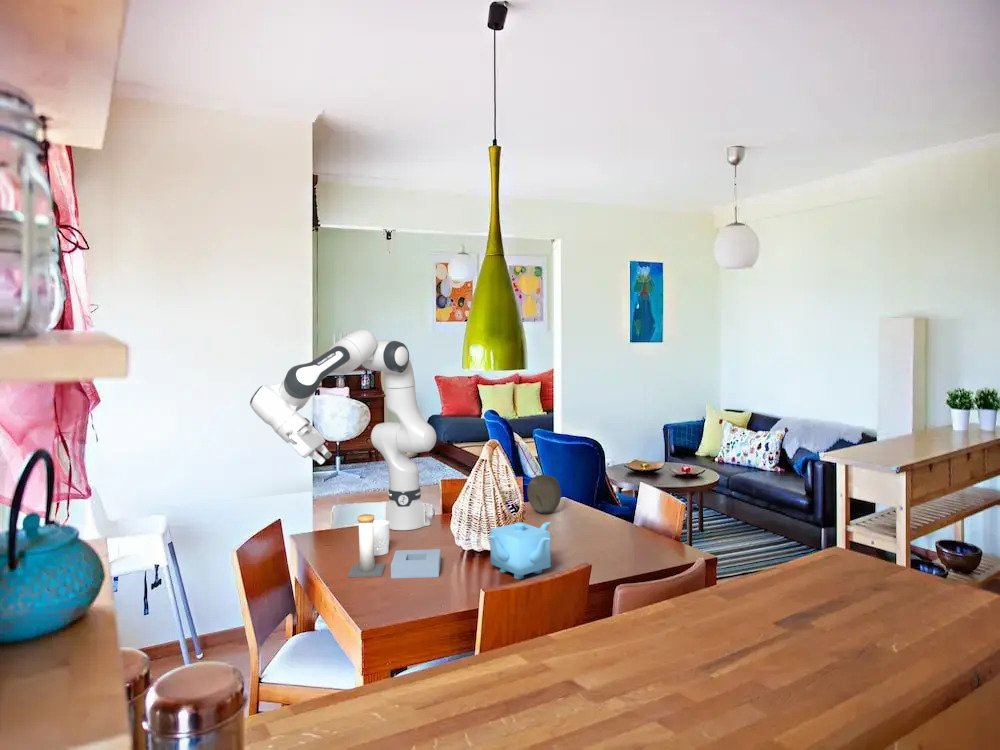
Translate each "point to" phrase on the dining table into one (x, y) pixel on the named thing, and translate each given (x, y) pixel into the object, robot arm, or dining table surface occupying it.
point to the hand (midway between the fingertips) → (326, 459)
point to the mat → (374, 573)
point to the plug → (366, 542)
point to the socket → (416, 563)
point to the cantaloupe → (544, 493)
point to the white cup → (381, 537)
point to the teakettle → (520, 548)
